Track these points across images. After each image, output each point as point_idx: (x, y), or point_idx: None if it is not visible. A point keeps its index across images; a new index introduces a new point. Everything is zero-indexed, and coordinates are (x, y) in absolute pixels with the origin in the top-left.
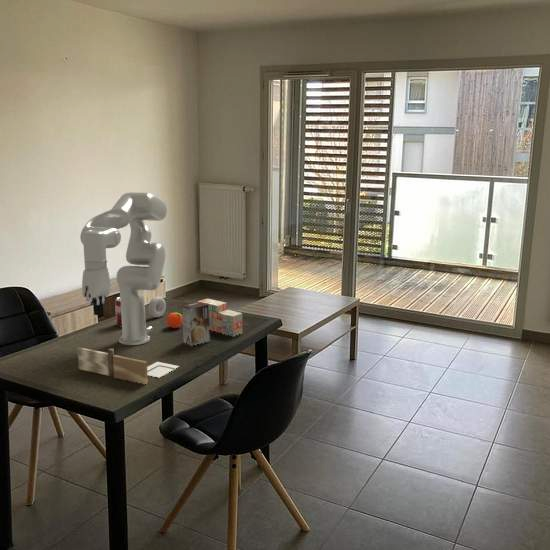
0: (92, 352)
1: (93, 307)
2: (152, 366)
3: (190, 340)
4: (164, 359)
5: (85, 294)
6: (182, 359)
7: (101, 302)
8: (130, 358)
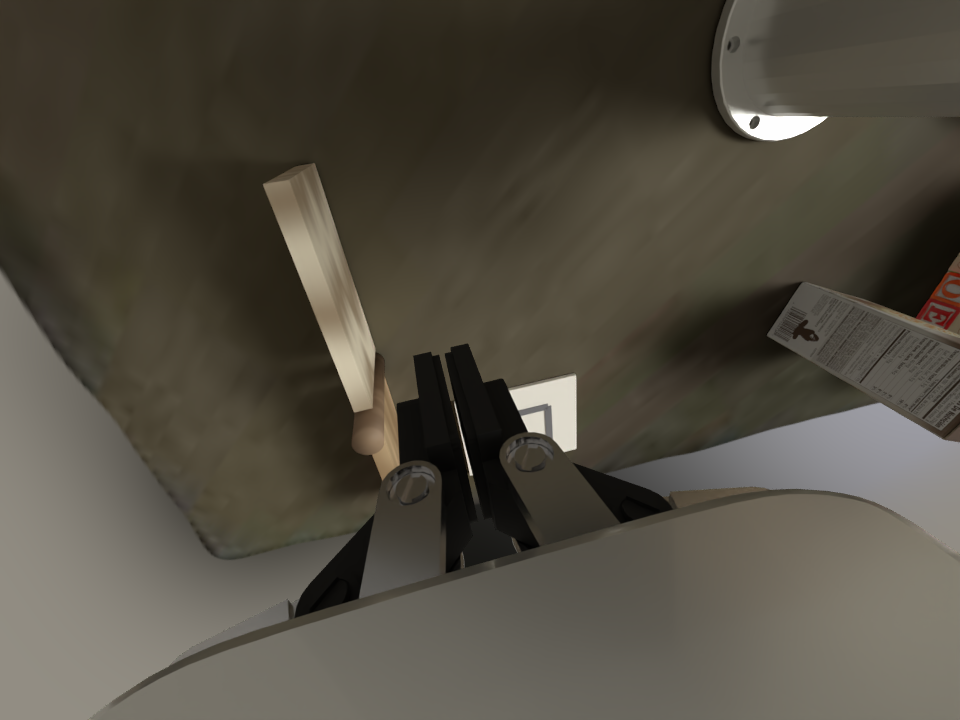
0: (318, 317)
1: (420, 408)
2: (529, 397)
3: (787, 342)
4: (613, 365)
5: (200, 703)
6: (637, 405)
7: (511, 534)
8: None
